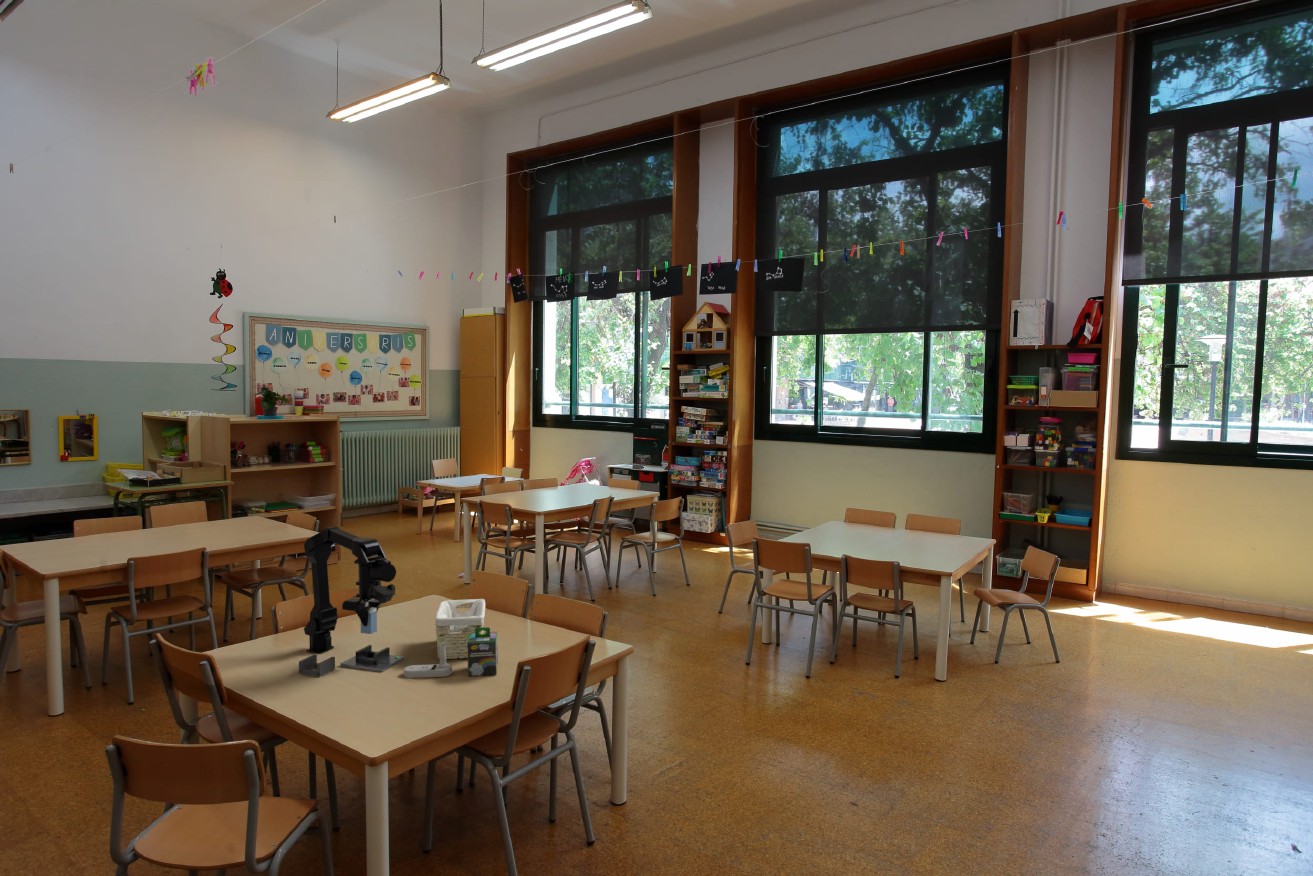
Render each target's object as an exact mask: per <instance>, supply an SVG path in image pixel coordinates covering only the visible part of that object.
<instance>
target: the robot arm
mask: <svg viewBox="0 0 1313 876" xmlns="http://www.w3.org/2000/svg"><path fill="white" fill-rule="evenodd" d="M335 544H337V545H339V546H341V547H344V548H346V549H348V550H350V551H351V554H352V555H353V556H354V557H356V559H355V560H354V561H353V563H354V564H355V565H358V580H357V581H355V585H356V586H358V593H356V594H355V597H356V598H355V597H354V598H353V597H352V598H348V599H345V600H344V601H343V602H342V603H341V608H342V609H341V610H343V611H352V612H355V613H356V615H357V617H358V618H359V620H360V623H361V622H362V624H363V626H367V623H368V611H369V609H370V608H371V607H375V608H377V612H378V611H379V608H380V607H381V605H382V604H386V603H387V602H391V601H392V598H393V597H394V596H395V595H396V585H395V584H392V583H391V582H393V580H394V579H395V577H396V575H397V569H396V567H395V565H393V564H392V561H391V560H387V559H388V558H387V556H386V553H385V552H384V550H383V548H382V546H381V544H380V542H379V541H378V539H376V538H370V537H360V536H357V535H355V534H352V533H350V532H348V531H345V530H344V529H340V528H339V527H338V526H329V527H325V528H323V529H322V530H321V531H319V532H318V533H316V534H314V535H313V536H311V537H308V538H306V540H305V541H304V544H303V549H304V553H305V557H306V558H307V559H308V561H309V562H310V565H311V577H312V589H313V590H312V591H313V603H314V604H313V606H312V609H311V611H310V613H309V621H308V622H307V624H306V625H305V626H304V627H303V631H304V635H306V636H308V637H309V639H308V640H309V641H308V642H309V648H307V649H306V652H309V653H314V654H315V653H316V654H323V653H325V652H326V653H327V651H330V650H332V649H334V648H335V646H333V644H332V636H331V632H333V631H335V630H336V626H337V622H338V619H339V617H338V608H337V607H336V606H335V607H334V606H333V604H332V603H331V599H330V598H331V596H330V585H329V583H330V582H329V570H328V569H329V568H328V560H329V559H330V556H331V554H332V548H333V547H332V546H334V545H335ZM381 582H384V583H385V582H386V583H390V584H387V586H386V585H382V583H381Z"/></svg>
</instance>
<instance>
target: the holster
mask: <svg viewBox="0 0 1313 876" xmlns="http://www.w3.org/2000/svg"><path fill="white" fill-rule="evenodd" d="M313 669H316V670H313ZM334 670H336V657H335V656H330V657H329V658H326V659H325V660H322V661H320V662H318V655H317V653H316V654H315V653H314V654H312V655H309V656H308V657H306V658H303V659H302V660H299V661H298V674H299V675H305V676H313V677H319V678H320V677H323V676H325V675H327V674H328V673H331V672H332V671H334Z"/></svg>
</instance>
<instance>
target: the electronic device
mask: <svg viewBox="0 0 1313 876" xmlns="http://www.w3.org/2000/svg"><path fill="white" fill-rule="evenodd" d="M439 646H440V659H439V664H438V663H437V664H435V663H434V664H413V665H408V666H406V667H404V669H403V677H404V678H407V679H408V678H409V679H410V678H411V679H413V678H415V679H417V678H443V677H448V676H451V675H452V673H453V666H452V664H450V663H448V662H447V659H446V650H445V644H441V645H439Z"/></svg>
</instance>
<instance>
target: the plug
mask: <svg viewBox="0 0 1313 876" xmlns="http://www.w3.org/2000/svg"><path fill="white" fill-rule="evenodd" d="M377 613H378V611H377V608H375V607H371V608H370V609H369V611H368V623H367V626H363V624H362V622H361V621H360V634H366V635H367V634H368V635H372V634H375V633H377V632H378V624H377V623H378V614H377Z"/></svg>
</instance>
